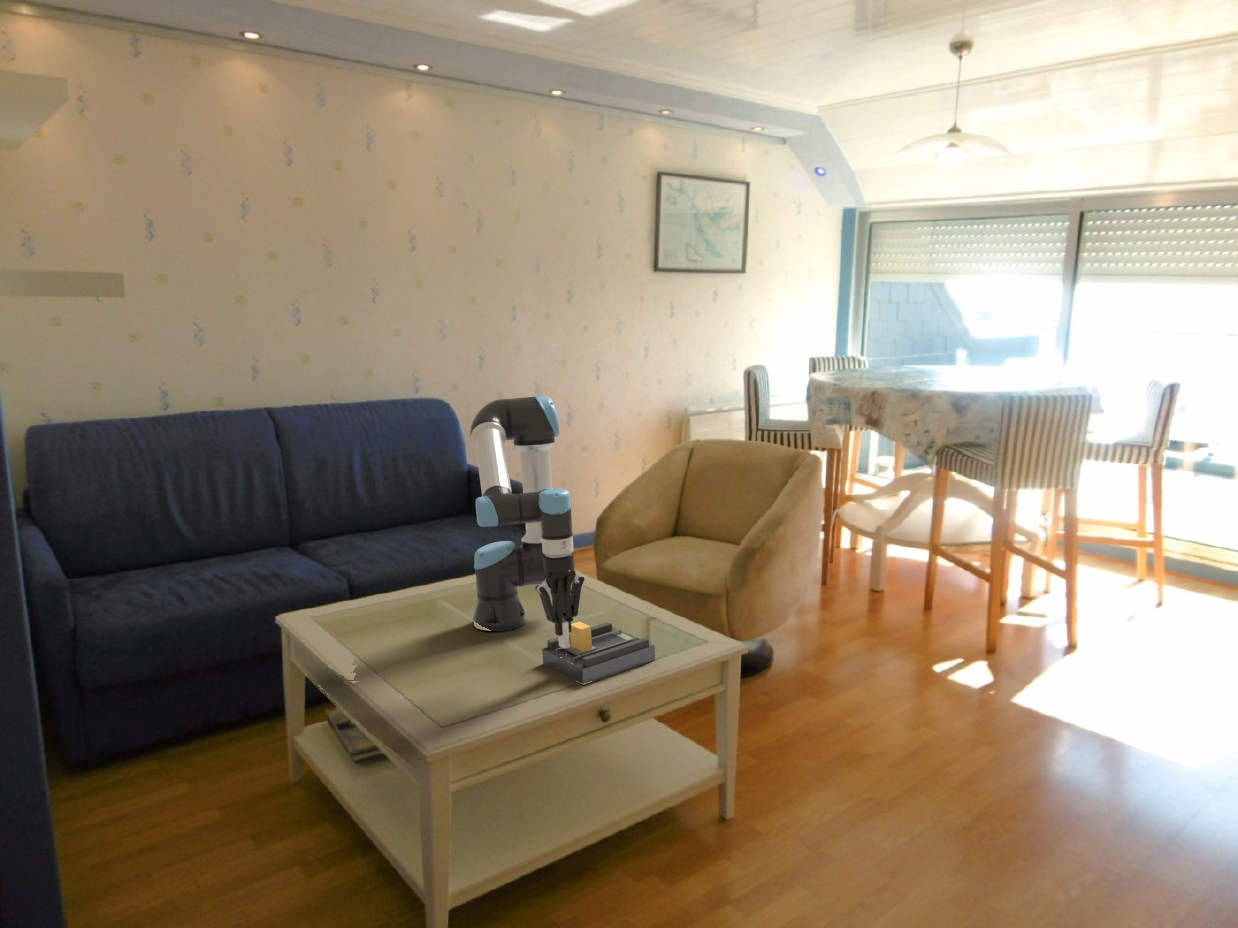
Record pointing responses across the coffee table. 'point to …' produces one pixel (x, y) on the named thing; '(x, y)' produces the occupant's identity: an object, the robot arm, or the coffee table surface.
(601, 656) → the pair of guide rails
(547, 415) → the robot arm
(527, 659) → the coffee table surface
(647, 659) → the grey rail base
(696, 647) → the coffee table surface
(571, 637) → the handle
